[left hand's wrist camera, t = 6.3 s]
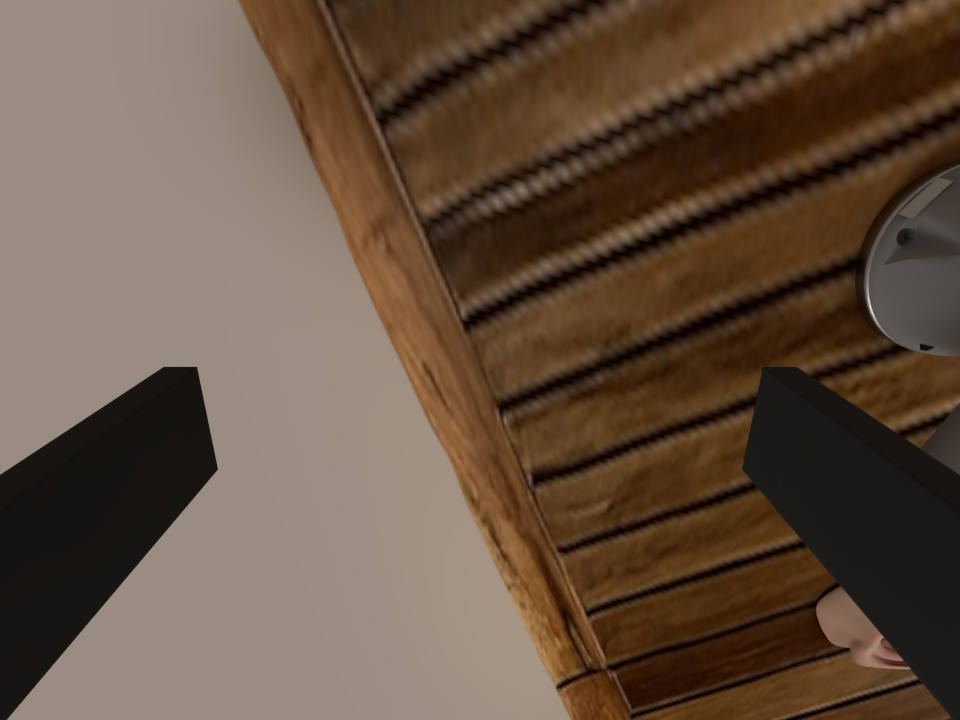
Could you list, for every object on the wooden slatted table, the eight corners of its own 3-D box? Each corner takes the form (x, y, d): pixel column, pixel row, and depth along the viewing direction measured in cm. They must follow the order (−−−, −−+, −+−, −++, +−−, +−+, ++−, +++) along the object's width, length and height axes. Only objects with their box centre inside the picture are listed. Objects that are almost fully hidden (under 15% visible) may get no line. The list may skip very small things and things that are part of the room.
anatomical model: (817, 650, 52) (914, 576, 49) (795, 617, 56) (883, 546, 53) (903, 706, 55) (1000, 639, 52) (876, 671, 59) (965, 607, 55)
